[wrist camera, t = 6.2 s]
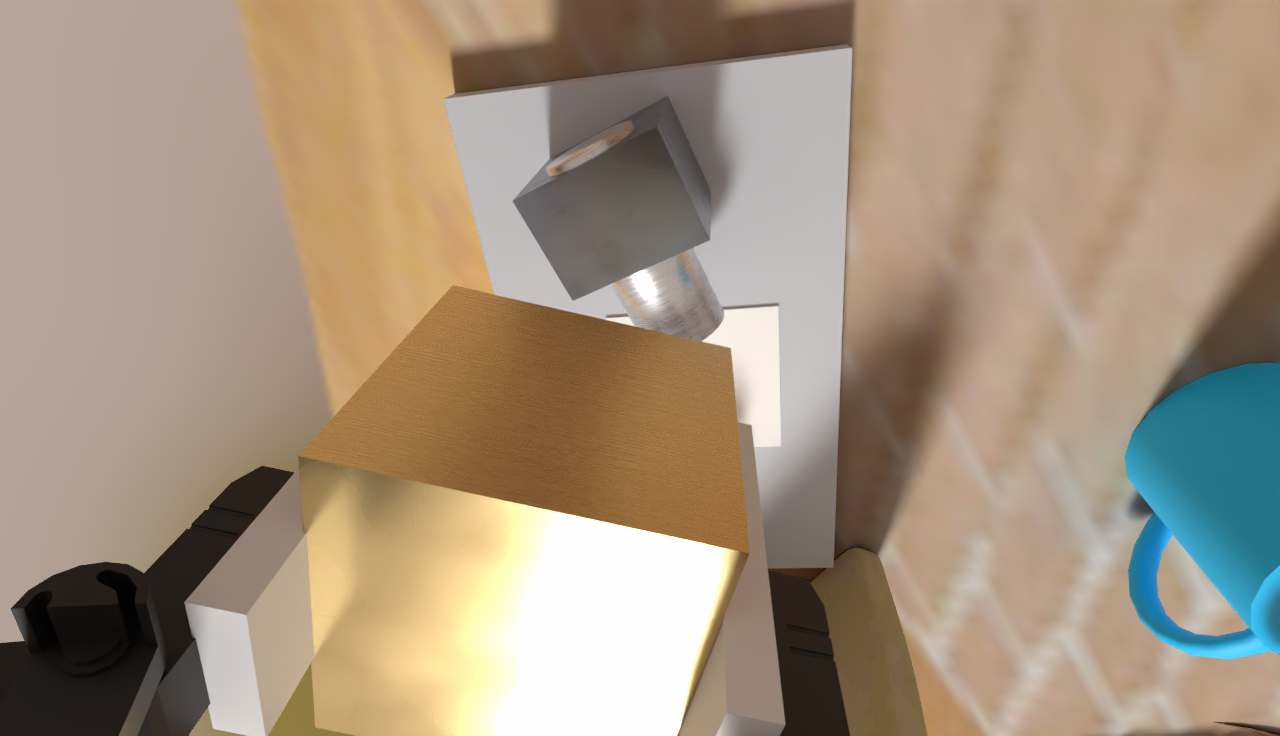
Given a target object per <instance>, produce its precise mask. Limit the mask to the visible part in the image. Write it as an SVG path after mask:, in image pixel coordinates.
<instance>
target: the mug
mask: <svg viewBox="0 0 1280 736" xmlns="http://www.w3.org/2000/svg"><path fill="white" fill-rule="evenodd" d="M1125 461H1126V469H1127V477H1128V478H1129V479H1130V481H1131V482H1132V484H1133V485H1134V487H1135V488H1136V489H1137V491H1138V492H1139V494H1140V495H1141V496H1142V497H1143V498H1144V500H1145V501H1146V502H1147V503H1148V505H1149V506H1150V507H1151V508H1152V510H1153V511H1154V512H1155V513H1154V514H1153V515H1152V516H1151V518H1150V519H1149V520H1148V521H1147V523H1146V525H1145V527H1144V529H1143V530H1142V532H1141V534H1140V536H1139V538H1138V539H1137V541H1136V543H1135V545H1134V549H1133V553H1132V557H1131V561H1130V565H1129V569H1128V575H1129V592H1130V597H1131V600H1132V602H1133V604H1134V607H1135V609H1136V611H1137V614H1138V616H1139V619H1140V620H1141V621H1142V622H1143V623H1144V624H1145V625H1146V626H1147V627H1148V628H1149V630H1150V631H1151V632H1152V633H1153V634H1154V635H1155V636H1156V637H1157V638H1158V639H1159V640H1160V641H1162V642H1164V643H1167V644H1169V645H1171V646H1173V647H1175V648H1177V649H1179V650H1181V651H1184V652H1186V653H1188V654H1190V655H1195V656H1204V657H1212V658H1221V659H1232V658H1238V657H1244V656H1249V655H1255V654H1261V653H1266V652H1268V651H1270V650H1272V651H1274V652H1276V653H1277V654H1279V655H1280V362H1276V363H1253V364H1243V365H1239V366H1236V367H1232V368H1228V369H1224V370H1221V371H1217V372H1213V373H1209V374H1207V375H1205V376H1203V377H1201V378H1199V379H1197V380H1195V381H1193V382H1191V383H1189V384H1187V385H1185V386H1183V387H1181V388H1179V389H1177V390H1176V391H1174V392H1173V393H1172V394H1170V395H1169V396H1168V397H1167V398H1165V399H1164V400H1163V401H1162V402H1160V403H1159V404H1158V405H1156V406H1155V407H1154V408H1153V409H1151V410H1150V411H1149V413H1148V414H1147V415H1146V416H1145V418H1144V419H1143V420H1142V422H1141V423H1140V424H1139V426H1138V427H1137V428H1136V430H1135V431H1134V432H1133V434H1132V437H1131V440H1130V442H1129V445H1128V448H1127V451H1126V454H1125ZM1172 534H1173V535H1174V536H1175V538H1176V539H1177V540H1178V541H1179V543H1180V544H1181V545H1182V546H1183V547H1184V549H1185V550H1186V551H1187V552H1188V554H1189V555H1190V556H1191V557H1192V558H1193V560H1194V561H1195V562H1196V563H1197V565H1198V566H1199V567H1200V568H1201V569H1202V571H1203V572H1204V573H1205V574H1206V576H1207V577H1208V578H1209V579H1210V581H1211V582H1212V583H1213V584H1214V585H1215V587H1216V588H1217V589H1218V590H1219V592H1220V593H1221V594H1222V595H1223V596H1224V598H1225V599H1226V600H1227V601H1228V603H1229V604H1230V605H1231V606H1232V607H1233V609H1234V610H1235V611H1236V612H1237V614H1238V615H1239V616H1240V617H1241V618H1242V620H1243V621H1244V622H1245V623H1246V625H1247V626H1248V627H1249V629H1247V630H1245V631H1240V632H1235V633H1231V634H1226V635H1221V636H1209V635H1197V634H1194V633H1192V632H1189V631H1187V630H1185V629H1182V628H1180V627H1179V626H1178V625H1177V624H1176V623H1175V622H1174V621H1172V620H1171V619H1170V618H1169V617H1168V616H1167V615H1166V613H1165V610H1164V608H1163V606H1162V604H1161V602H1160V599H1159V597H1158V587H1157V572H1158V568H1159V563H1160V559H1161V555H1162V552H1163V550H1164V548H1165V547H1166V545H1167V543H1168V541H1169V539H1170V538H1171V536H1172Z"/></svg>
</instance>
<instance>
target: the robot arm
mask: <svg viewBox="0 0 1280 736" xmlns="http://www.w3.org/2000/svg"><path fill="white" fill-rule="evenodd" d="M738 432H739V443H740V454H741V465H742V476H743V487H744V498H745V509H746V520H747V530H748V541H749V552H750V554H749V556H748V559H747V561H746V564H745V566H744V569H743V571H742V574H741V576H740V579H739V581H738V584H737V586H736V589H735V591H734V594H733V596H732V599H731V601H730V604H729V606H728V609H727V611H726V614H725V616H724V619H723V621H722V624H721V626H720V629H719V631H718V634H717V636H716V638H715V641H714V643H713V646H712V648H711V651H710V653H709V656H708V658H707V661H706V663H705V666H704V668H703V671H702V673H701V676H700V678H699V681H698V683H697V686H696V688H695V691H694V693H693V696H692V698H691V701H690V703H689V706H688V708H687V711H686V713H685V716H684V718H683V721H682V723H681V726H680V731H679V736H850V732H849V727H848V722H847V717H846V712H845V707H844V702H843V697H842V692H841V687H840V682H839V677H838V672H837V667H836V662H835V661H834V652H833V647H832V642H831V638H829V634H830V632H829V627H828V622H827V617H826V612H825V607H824V604H823V603H822V601H821V599H820V598H819V596H818V594H817V593H816V591H815V590H814V588H813V586H812V585H811V583H810V581H809V580H808V579H804V578H799V577H795V576H790V575H785V574H781V573H776V572H771V571H768V566H767V557H766V549H765V540H764V531H763V522H762V513H761V504H760V495H759V487H758V478H757V469H756V460H755V451H754V442H753V434H752V425H749V424H744V423H740V422H738ZM11 611H12V613H13V615H14V617H15V619H16V622H17V624H18V627H19V629H20V631H21V633H22V636H23V638H24V640H25V641H21V642H9V643H0V736H189V733H190V732H191V730H192V729H193V727H194V726H195V725H196V723H197V722H198V720H199V719H200V718H201V716H202V715H203V713H204V712H205V710H206V709H207V707H208V708H209V712H210V717H211V721H212V726H213V729H218V730H222V731H227V732H233V733H237V734H242V735H248V736H268V735H269V733H270V732H271V730H272V728H273V726H274V725H275V723H276V721H277V720H278V718H279V716H280V714H281V713H282V711H283V709H284V708H285V706H286V704H287V702H288V701H289V699H290V697H291V695H292V694H293V692H294V691H295V689H296V687H297V685H298V684H299V682H300V680H301V679H302V677H303V675H304V673H305V672H306V670H307V668H308V667H309V665H310V663H311V661H312V660H313V658H314V642H313V627H312V611H311V595H310V579H309V564H308V548H307V533H305V532H303V522H302V506H301V490H300V474H299V468H298V470H297V471H296V472H295V473H293V472H289V471H284V470H280V469H275V468H270V467H265V466H261V467H259V468H257V469H255V470H254V471H252V472H250V473H248V474H247V475H245V476H243V477H241V478H239V479H238V480H236V481H234V482H232V483H231V484H230V485H229V486H228V487H227V488H226V489H225V490H224V491H223V492H222V493H221V494H220V495H219V496H218V497H217V498H216V499H215V500H214V501H213V502H212V503H211V505H210V507H209V509H208V510H205V511H204V512H203V513H202V514H201V515H200V516H199V517H198V518H197V519H196V520H195V521H194V522H193V523H192V526H191V528H190V529H186V530H185V531H184V532H183V534H181V536H180V537H179V538H178V539H177V540H176V541H175V542H174V543H173V544H172V545H171V546H170V547H169V548H168V549H167V550H166V551H165V552H164V553H163V554H162V555H161V556H160V557H159V558H158V559H157V560H156V561H155V563H154V564H153V565H152V566H151V567H150V568H149V569H148V570H147V571H146V572H145V573H142V572H141V571H139V570H137V569H135V568H134V567H132V566H130V565H128V564H120V563H110V562H103V563H96V564H88V565H81V566H78V567H75V568H72V569H69V570H67V571H64V572H61V573H58V574H55V575H53V576H51V577H49V578H48V579H47V580H45V581H43V582H41V583H40V584H38V585H37V586H35V587H33V588H32V589H30V590H28V591H27V592H26V593H25V595H24V596H23V597H22V598H21V599H20V600H19V601H18V602H17V603H16V604H15V605H14V606H13V607H12V608H11Z"/></svg>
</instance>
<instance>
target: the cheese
mask: <svg viewBox="0 0 1280 736" xmlns="http://www.w3.org/2000/svg"><path fill="white" fill-rule="evenodd" d="M810 583H811V585H812V586H813V588H814V590H815V591H816V593H817V594H818V596H819V598H820V599H821V601H822V603H823V604H824V607H825V612H826V617H827V622H828V627H829V632H830V634H829V638H831V642H832V647H833V652H834V661H835V662H836V667H837V672H838V677H839V682H840V687H841V692H842V697H843V702H844V707H845V712H846V717H847V722H848V727H849V732H850V736H927V732H926V727H925V722H924V717H923V712H922V707H921V702H920V697H919V692H918V688H917V683H916V679H915V675H914V671H913V667H912V663H911V659H910V655H909V651H908V648H907V644H906V641H905V637H904V634H903V630H902V627H901V624H900V620H899V617H898V614H897V610H896V607H895V604H894V601H893V598H892V594H891V591H890V588H889V585H888V582H887V579H886V576H885V573H884V569H883V566H882V563H881V561H880V559H879V557H878V556H877V555H876V554H875V553H872V552H870V551H867V550H864V549H861V548H851V549H849V550H848V551H846V552H844V553H843V554H842V555H840V556H839V557H838V558H837V559H836V560H835V561H834V568H826V569H825V570H824V571H822V572H821V573H820V574H819V575H818V576H817V577H816V578H815V579H814V580H812V581H811V582H810ZM679 731H680V728H679ZM679 731H678V733H677V736H679Z"/></svg>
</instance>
